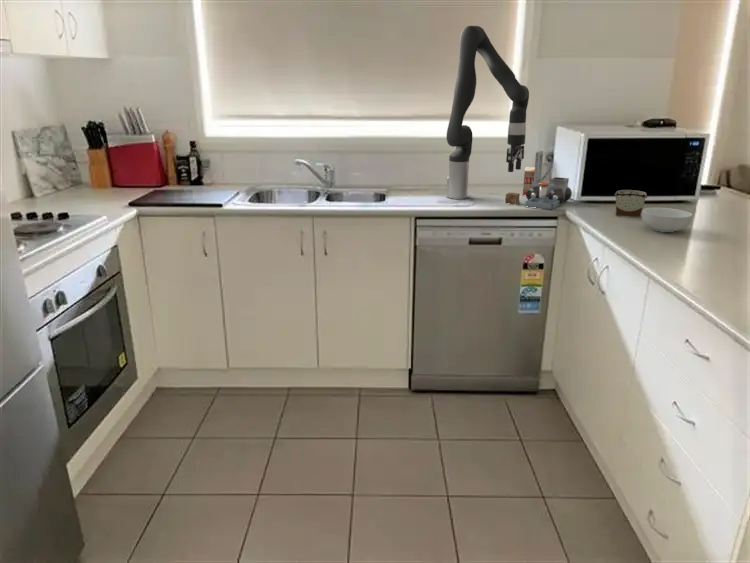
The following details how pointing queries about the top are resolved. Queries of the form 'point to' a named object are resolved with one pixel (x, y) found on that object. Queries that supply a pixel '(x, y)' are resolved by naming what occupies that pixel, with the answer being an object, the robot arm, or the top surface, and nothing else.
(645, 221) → the cereal bowl
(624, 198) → the food container
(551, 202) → the tray
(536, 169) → the trolley
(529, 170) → the stack of blocks
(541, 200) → the pin
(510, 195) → the block
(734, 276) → the top surface
